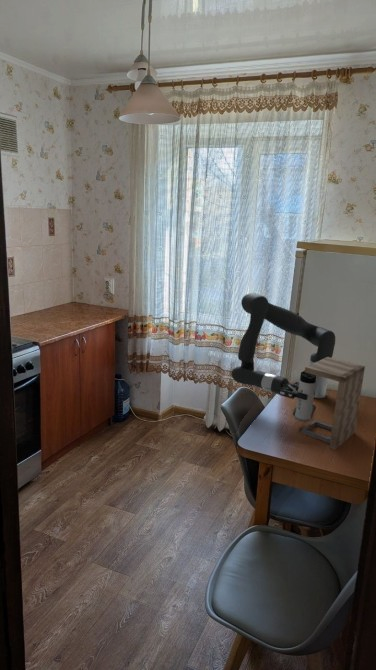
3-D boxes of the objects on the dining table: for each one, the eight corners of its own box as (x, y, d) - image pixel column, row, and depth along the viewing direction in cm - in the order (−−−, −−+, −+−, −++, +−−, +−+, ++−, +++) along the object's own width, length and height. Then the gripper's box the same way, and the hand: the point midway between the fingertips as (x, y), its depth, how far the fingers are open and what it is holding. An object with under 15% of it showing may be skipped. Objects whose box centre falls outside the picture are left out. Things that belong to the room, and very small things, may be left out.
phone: (315, 404, 211) (310, 416, 198) (315, 407, 211) (310, 419, 198) (298, 401, 214) (292, 412, 201) (298, 403, 214) (291, 415, 201)
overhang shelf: (318, 420, 196) (327, 356, 189) (354, 432, 186) (365, 366, 179) (296, 435, 181) (305, 367, 174) (334, 450, 171) (345, 377, 164)
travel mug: (307, 415, 193) (313, 370, 188) (312, 422, 186) (318, 376, 181) (292, 414, 192) (298, 369, 187) (296, 421, 186) (303, 375, 181)
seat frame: (314, 423, 193) (314, 420, 192) (342, 433, 185) (342, 429, 185) (301, 432, 184) (301, 429, 183) (329, 443, 176) (330, 439, 176)
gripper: (266, 379, 189) (304, 391, 179) (284, 371, 200) (320, 382, 189) (264, 396, 191) (301, 409, 181) (282, 388, 202) (317, 399, 191)
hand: (310, 395), depth 185 cm, fingers closed on travel mug, 6 cm apart
